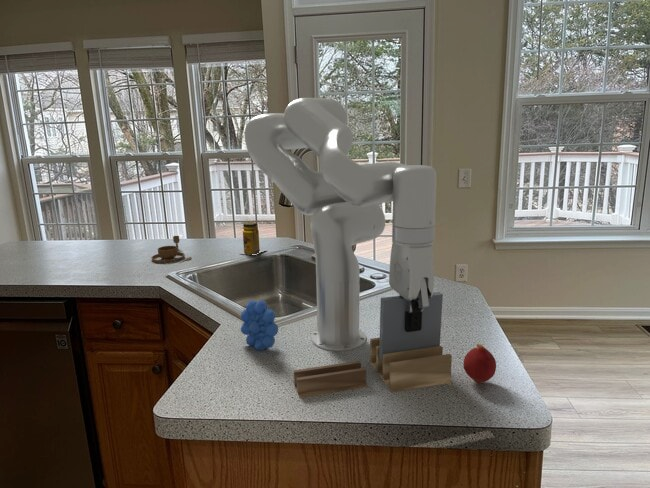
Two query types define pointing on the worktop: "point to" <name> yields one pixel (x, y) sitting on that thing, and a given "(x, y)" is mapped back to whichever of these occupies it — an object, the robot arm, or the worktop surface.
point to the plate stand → (329, 379)
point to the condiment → (250, 238)
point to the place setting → (169, 253)
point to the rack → (411, 367)
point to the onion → (479, 364)
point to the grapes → (259, 325)
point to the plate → (394, 325)
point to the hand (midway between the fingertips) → (410, 327)
